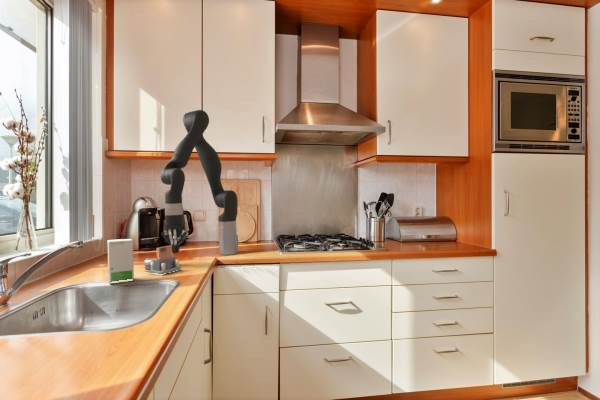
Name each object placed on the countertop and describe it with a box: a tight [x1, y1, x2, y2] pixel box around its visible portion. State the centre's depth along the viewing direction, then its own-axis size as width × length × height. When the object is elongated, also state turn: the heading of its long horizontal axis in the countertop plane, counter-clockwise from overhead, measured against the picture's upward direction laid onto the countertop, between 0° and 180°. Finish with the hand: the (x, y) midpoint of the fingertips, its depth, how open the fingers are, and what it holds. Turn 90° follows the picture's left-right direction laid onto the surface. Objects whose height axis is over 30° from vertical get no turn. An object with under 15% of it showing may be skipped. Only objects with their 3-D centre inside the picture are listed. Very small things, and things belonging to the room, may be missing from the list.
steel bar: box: [153, 256, 177, 271], centre depth 141 cm, size 8×4×4 cm, turn 151°
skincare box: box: [106, 238, 135, 283], centre depth 128 cm, size 8×7×16 cm
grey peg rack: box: [143, 244, 175, 267], centre depth 150 cm, size 14×6×7 cm, turn 151°
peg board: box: [148, 259, 182, 274], centre depth 141 cm, size 10×8×4 cm
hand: (175, 252), depth 152 cm, fingers closed
